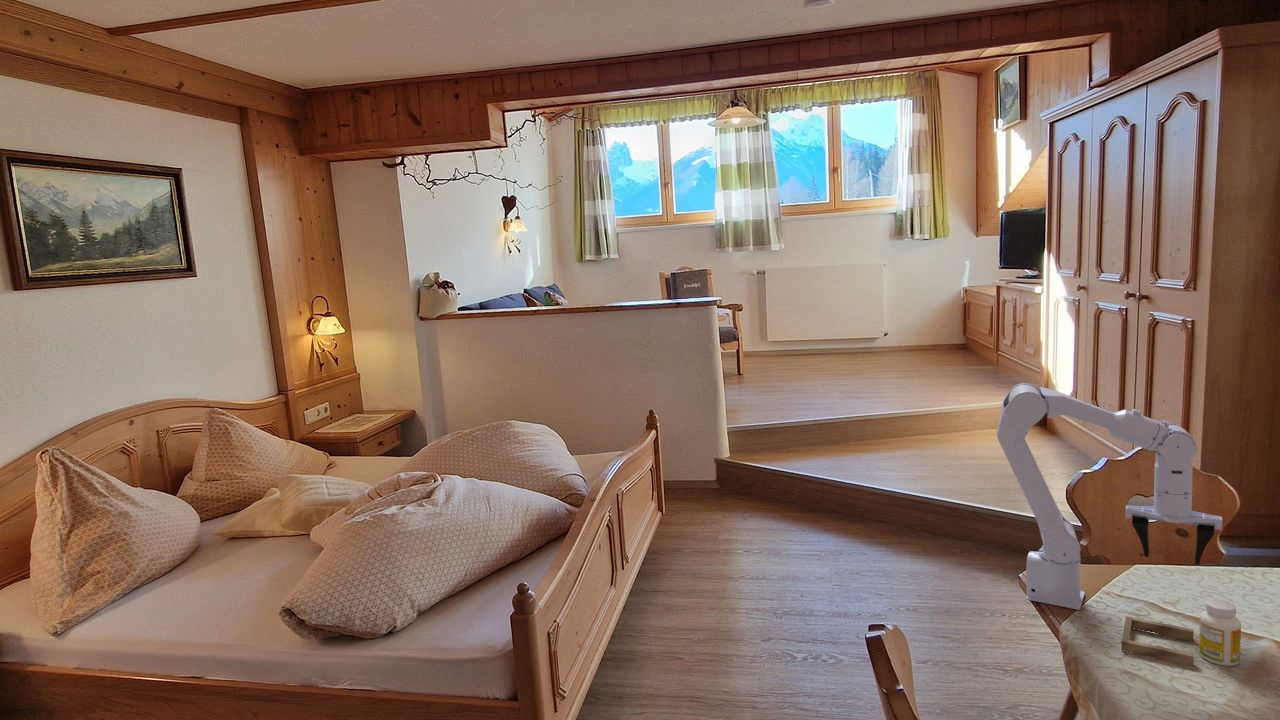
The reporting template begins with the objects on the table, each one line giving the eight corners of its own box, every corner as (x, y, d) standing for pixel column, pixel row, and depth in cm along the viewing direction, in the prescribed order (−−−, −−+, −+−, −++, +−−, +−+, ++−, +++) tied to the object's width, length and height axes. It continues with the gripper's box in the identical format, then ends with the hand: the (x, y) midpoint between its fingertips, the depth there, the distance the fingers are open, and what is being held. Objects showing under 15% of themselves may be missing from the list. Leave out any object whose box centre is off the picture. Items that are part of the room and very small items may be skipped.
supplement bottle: (1230, 650, 123) (1232, 597, 122) (1246, 668, 118) (1248, 613, 117) (1193, 647, 125) (1194, 595, 123) (1207, 665, 120) (1208, 610, 118)
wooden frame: (1121, 650, 125) (1121, 641, 125) (1125, 625, 133) (1125, 616, 133) (1193, 666, 119) (1193, 656, 119) (1193, 638, 127) (1193, 629, 127)
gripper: (1124, 491, 135) (1123, 559, 137) (1223, 501, 126) (1221, 574, 128) (1127, 480, 141) (1126, 546, 142) (1222, 489, 132) (1220, 559, 134)
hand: (1171, 558), depth 136 cm, fingers open, 7 cm apart
